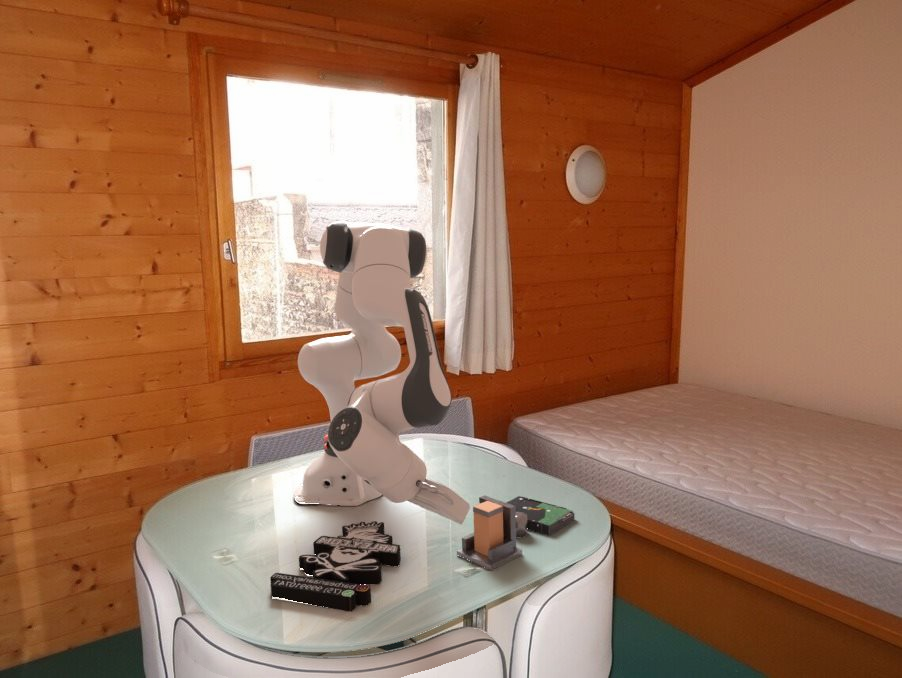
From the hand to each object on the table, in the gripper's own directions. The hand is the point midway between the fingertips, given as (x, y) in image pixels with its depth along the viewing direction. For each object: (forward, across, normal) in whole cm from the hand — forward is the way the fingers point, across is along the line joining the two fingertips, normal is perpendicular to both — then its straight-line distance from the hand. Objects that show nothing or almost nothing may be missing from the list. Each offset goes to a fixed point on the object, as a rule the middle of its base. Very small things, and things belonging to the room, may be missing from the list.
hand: (443, 512), depth 129 cm
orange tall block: (+16, -1, 0) cm, 16 cm away
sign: (+2, +15, +17) cm, 23 cm away
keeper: (+16, -1, +1) cm, 16 cm away
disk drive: (+30, +4, -12) cm, 33 cm away
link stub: (+24, +1, -7) cm, 25 cm away
